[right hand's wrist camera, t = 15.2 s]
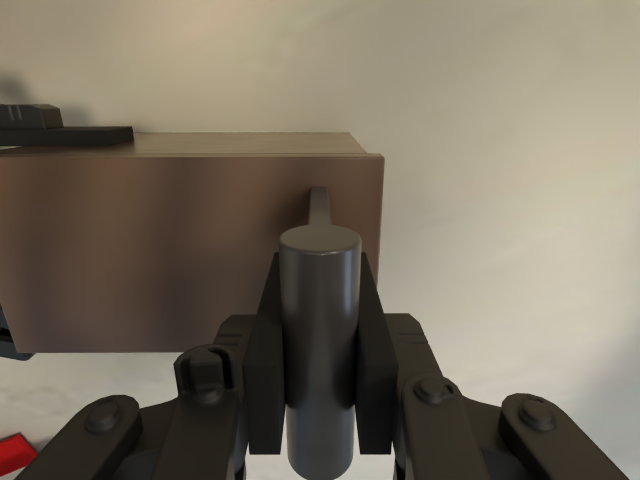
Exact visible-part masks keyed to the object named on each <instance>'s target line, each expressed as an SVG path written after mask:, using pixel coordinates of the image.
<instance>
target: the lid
mask: <svg viewBox="0 0 640 480" xmlns="http://www.w3.org/2000/svg"><path fill="white" fill-rule="evenodd" d="M384 162H385V158H384V157H383V156H382V155H381V154H11V155H0V303H1V306H2V309H3V312H4V315H5V318H6V321H7V324H8V327H9V330H10V333H11V336H12V339H13V341H14V344H15V347H16V350H17V352H18V353H132V352H186V351H187V350H189V349H191V348H194V347H196V346H199V345H205V344H213V341H214V339H215V337H216V334H217V332H218V330H219V328H220V325H221V323H223V322H224V321H225V320H226V319H227V318H228V317H230V316H231V315H256V314H257V310H258V307H259V304H260V300H261V297H262V293H263V290H264V287H265V283H266V280H267V277H268V273H269V270H270V266H271V263H272V260H273V256H274V253H275V252H279V265H280V289H281V312H282V323H283V348H284V372H285V396H286V427H287V450H288V459H289V462H290V464H291V466H292V468H293V469H294V470H295V472H296V473H297V474H299V475H300V476H301V477H303V478H305V479H307V480H334V479H336V478H338V477H340V476H341V475H342V474H343V473H345V471H346V470H347V469H348V468H349V466H350V464H351V462H352V459H353V446H354V420H355V382H356V357H357V333H358V318H359V293H360V267H361V252H366V255H367V258H368V262H369V265H370V268H371V272H372V275H373V279H374V282H375V285H376V289H377V283H378V266H379V249H380V231H381V214H382V197H383V179H384Z"/></svg>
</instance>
